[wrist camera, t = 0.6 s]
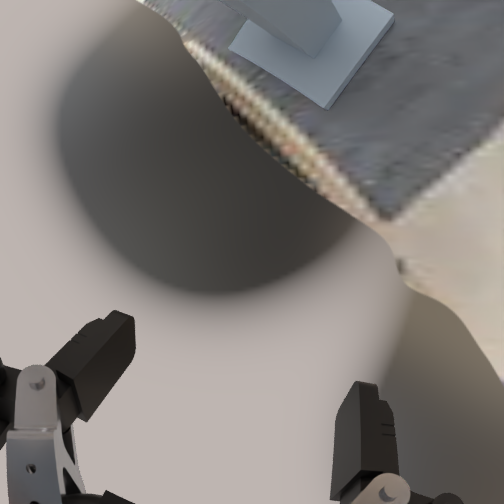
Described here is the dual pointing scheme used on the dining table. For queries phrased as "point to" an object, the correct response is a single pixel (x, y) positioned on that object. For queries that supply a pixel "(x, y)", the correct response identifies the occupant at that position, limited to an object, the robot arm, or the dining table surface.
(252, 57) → the shelf stand
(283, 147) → the dining table surface
